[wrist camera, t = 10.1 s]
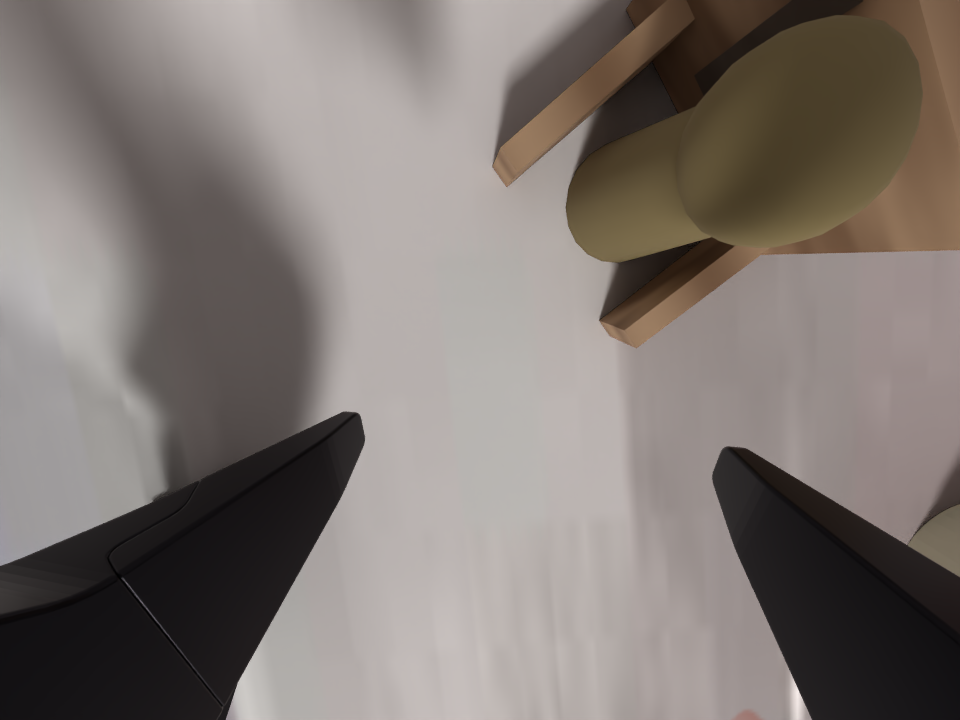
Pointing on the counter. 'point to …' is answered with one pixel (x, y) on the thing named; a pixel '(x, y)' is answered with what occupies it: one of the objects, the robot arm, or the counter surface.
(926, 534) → the reusable coffee cup
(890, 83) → the cork
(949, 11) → the post bracket
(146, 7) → the counter surface
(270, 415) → the counter surface
